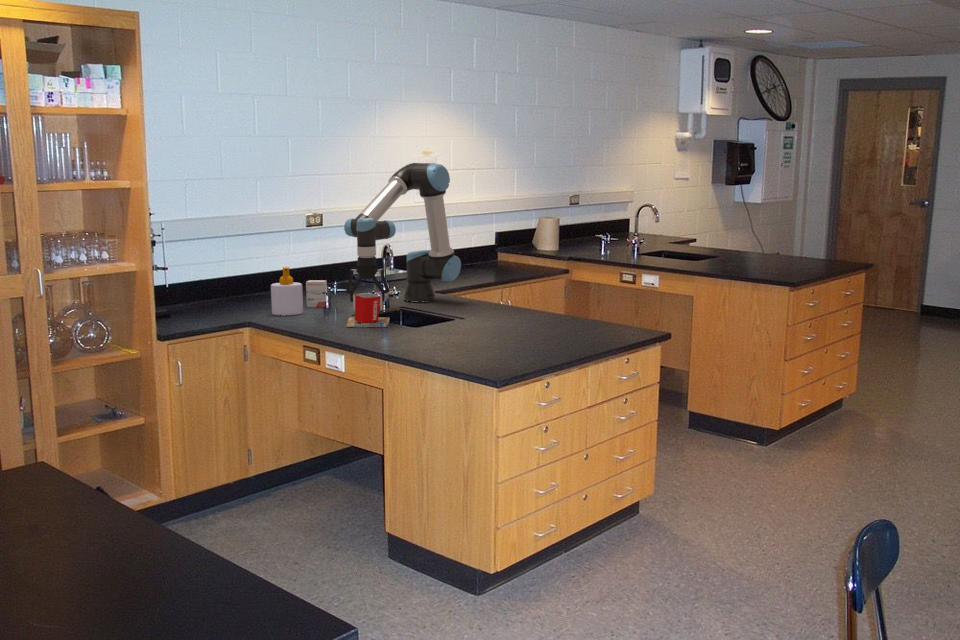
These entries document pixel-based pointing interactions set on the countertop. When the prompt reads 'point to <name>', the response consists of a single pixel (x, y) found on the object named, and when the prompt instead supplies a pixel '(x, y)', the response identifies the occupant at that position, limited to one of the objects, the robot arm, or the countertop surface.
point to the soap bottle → (286, 296)
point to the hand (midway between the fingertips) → (368, 309)
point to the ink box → (316, 293)
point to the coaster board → (380, 319)
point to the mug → (367, 307)
